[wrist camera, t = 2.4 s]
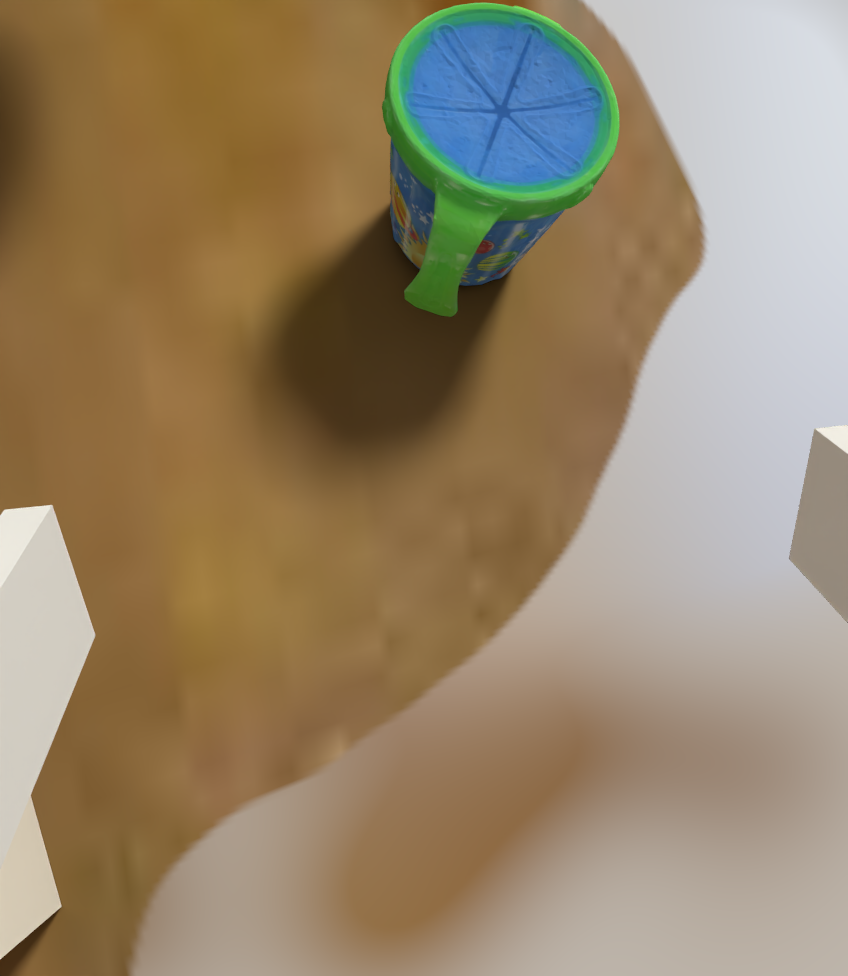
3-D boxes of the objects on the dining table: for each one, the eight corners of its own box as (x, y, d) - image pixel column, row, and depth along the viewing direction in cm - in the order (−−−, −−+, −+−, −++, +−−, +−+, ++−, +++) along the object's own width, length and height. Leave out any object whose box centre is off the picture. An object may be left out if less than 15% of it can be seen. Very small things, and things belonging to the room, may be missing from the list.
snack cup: (487, 389, 42) (552, 288, 32) (306, 298, 41) (317, 168, 32) (587, 176, 47) (669, 34, 37) (428, 93, 46) (469, -72, 37)
